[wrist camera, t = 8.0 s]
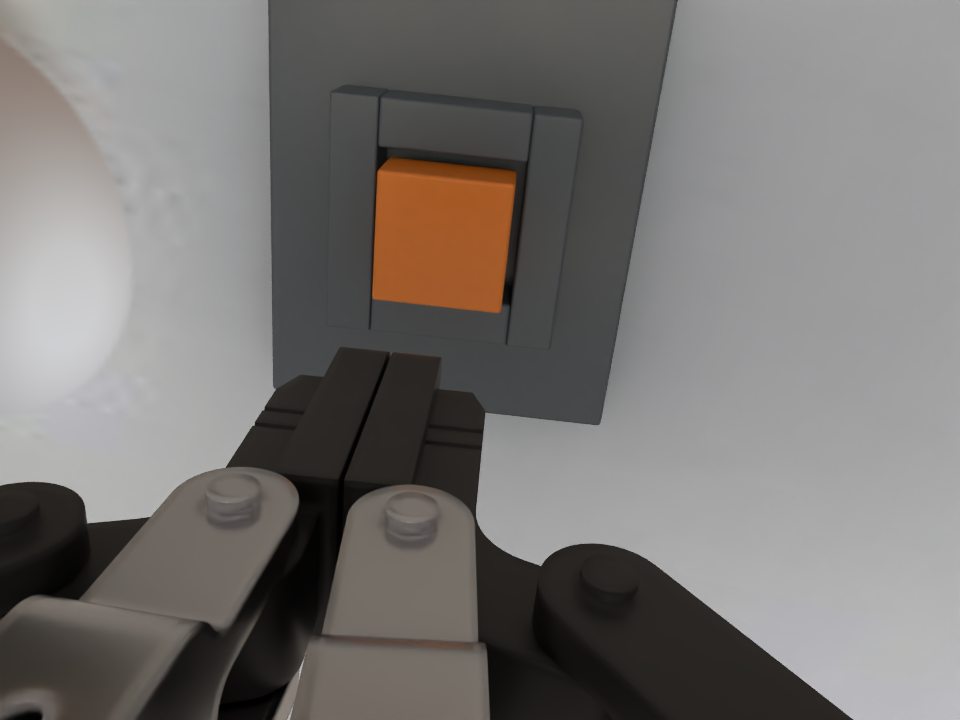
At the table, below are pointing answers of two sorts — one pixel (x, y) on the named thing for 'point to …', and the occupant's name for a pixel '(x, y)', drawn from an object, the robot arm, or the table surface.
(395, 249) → the key
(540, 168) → the keypad
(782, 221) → the table surface
